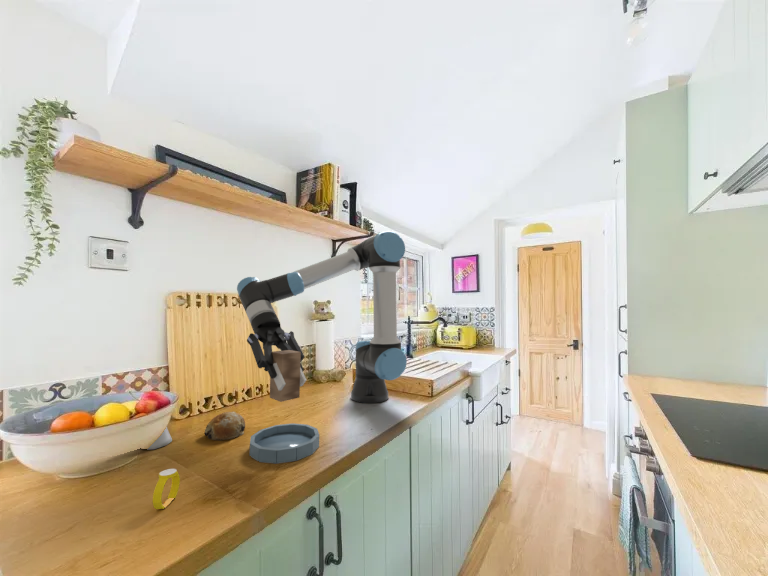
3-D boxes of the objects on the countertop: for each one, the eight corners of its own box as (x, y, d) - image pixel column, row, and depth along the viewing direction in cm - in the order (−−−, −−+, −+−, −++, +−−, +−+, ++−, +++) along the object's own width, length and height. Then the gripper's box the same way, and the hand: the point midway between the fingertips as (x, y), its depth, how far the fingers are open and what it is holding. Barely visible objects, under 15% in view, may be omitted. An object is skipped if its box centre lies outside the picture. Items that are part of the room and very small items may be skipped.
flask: (153, 452, 81) (155, 411, 81) (130, 449, 82) (132, 409, 83) (177, 440, 88) (179, 403, 88) (155, 438, 89) (157, 401, 90)
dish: (294, 429, 96) (294, 419, 96) (331, 446, 85) (331, 434, 85) (237, 448, 83) (238, 436, 83) (272, 470, 72) (273, 456, 72)
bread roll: (232, 454, 88) (247, 426, 89) (196, 440, 86) (211, 412, 87) (240, 439, 97) (253, 414, 99) (207, 426, 96) (221, 401, 97)
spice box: (288, 393, 89) (289, 349, 90) (299, 397, 85) (300, 351, 86) (269, 397, 85) (271, 351, 85) (280, 401, 81) (282, 353, 82)
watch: (167, 497, 62) (170, 464, 63) (182, 497, 62) (185, 464, 63) (146, 515, 56) (150, 478, 57) (163, 514, 56) (166, 478, 57)
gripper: (286, 326, 103) (316, 387, 91) (227, 329, 89) (253, 401, 77) (296, 310, 100) (328, 371, 88) (236, 310, 86) (264, 382, 74)
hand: (292, 385), depth 83 cm, fingers closed on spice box, 5 cm apart
